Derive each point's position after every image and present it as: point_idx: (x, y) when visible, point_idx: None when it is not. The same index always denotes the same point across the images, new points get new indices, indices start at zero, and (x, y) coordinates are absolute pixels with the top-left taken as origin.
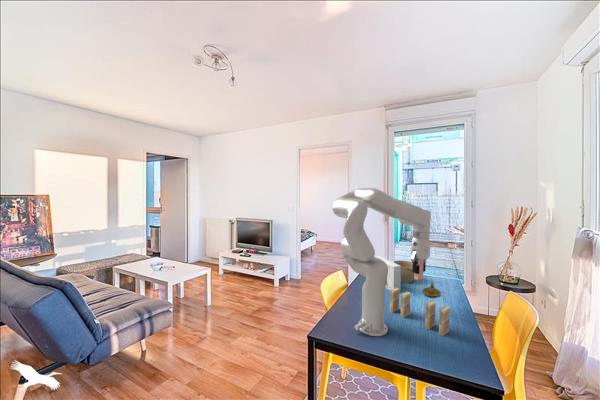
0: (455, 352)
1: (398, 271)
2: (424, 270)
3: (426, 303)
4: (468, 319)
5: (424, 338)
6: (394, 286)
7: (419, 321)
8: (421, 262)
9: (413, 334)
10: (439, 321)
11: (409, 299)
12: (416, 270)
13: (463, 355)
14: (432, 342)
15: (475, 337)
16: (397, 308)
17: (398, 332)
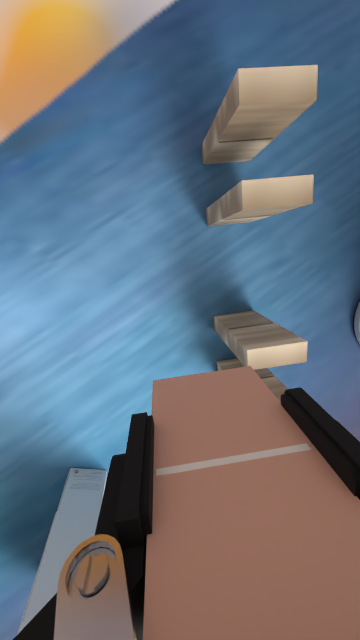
0: (316, 43)
1: (53, 584)
2: (148, 422)
3: (308, 202)
4: (7, 153)
5: (320, 175)
6: (99, 494)
7: (226, 263)
8: (260, 570)
9: (327, 215)
10: (275, 136)
11: (242, 335)
12: (343, 427)
13: (312, 10)
14: (321, 140)
15: (138, 44)
16: (227, 363)
17: (355, 252)
